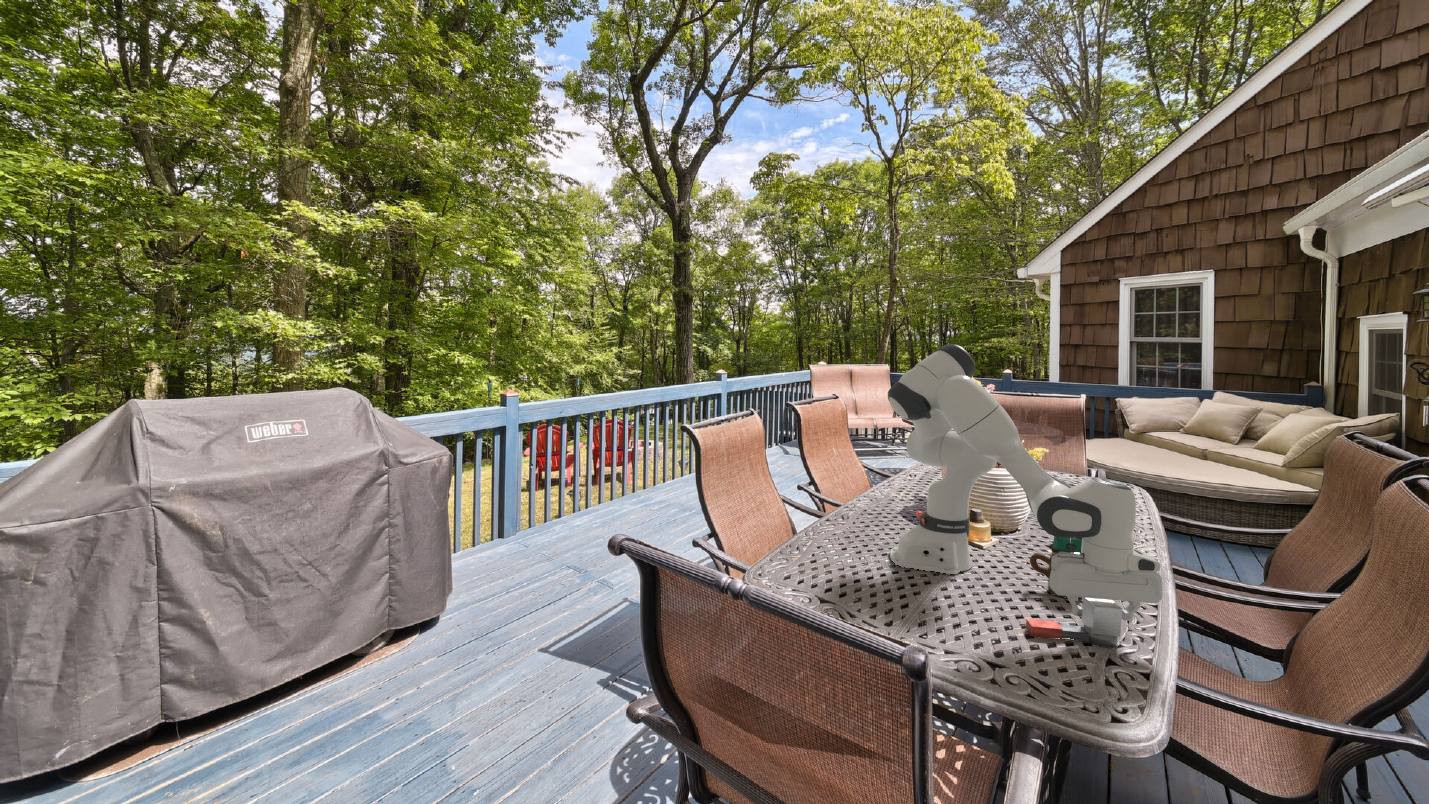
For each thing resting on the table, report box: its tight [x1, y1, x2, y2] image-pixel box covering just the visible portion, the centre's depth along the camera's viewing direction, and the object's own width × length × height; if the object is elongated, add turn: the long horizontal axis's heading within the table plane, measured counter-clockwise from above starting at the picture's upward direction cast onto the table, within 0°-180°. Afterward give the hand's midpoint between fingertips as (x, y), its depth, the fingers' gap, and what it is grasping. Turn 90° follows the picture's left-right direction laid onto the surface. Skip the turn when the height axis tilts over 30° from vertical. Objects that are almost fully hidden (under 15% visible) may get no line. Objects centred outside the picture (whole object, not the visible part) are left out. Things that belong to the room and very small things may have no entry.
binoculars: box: [1048, 536, 1082, 554], centre depth 159 cm, size 9×11×10 cm
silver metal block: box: [1080, 597, 1123, 637], centre depth 116 cm, size 5×5×6 cm
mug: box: [1029, 553, 1082, 599], centre depth 140 cm, size 12×8×9 cm, turn 55°
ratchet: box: [1025, 618, 1119, 649], centre depth 118 cm, size 17×6×6 cm, turn 78°
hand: (1101, 617), depth 116 cm, fingers open, 8 cm apart
